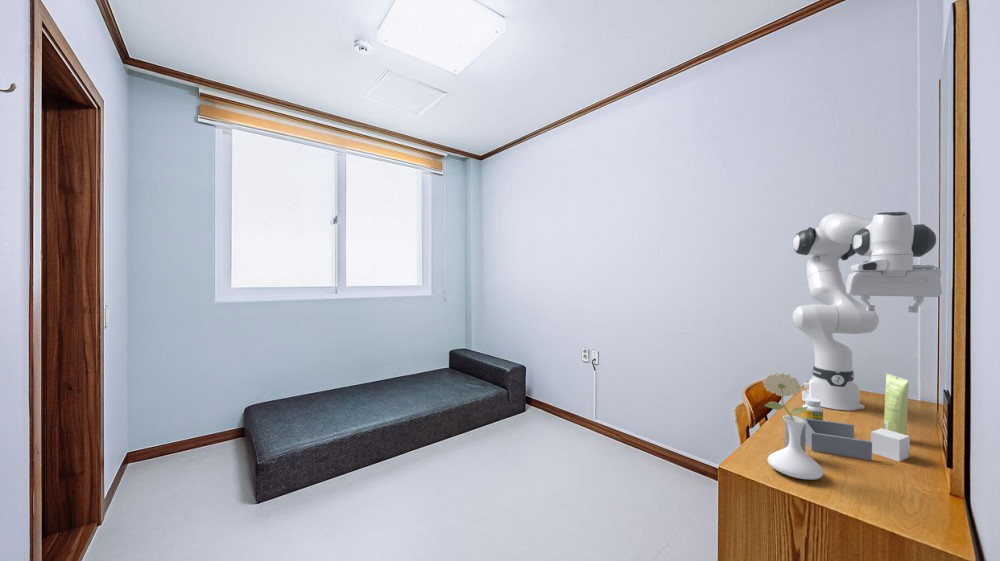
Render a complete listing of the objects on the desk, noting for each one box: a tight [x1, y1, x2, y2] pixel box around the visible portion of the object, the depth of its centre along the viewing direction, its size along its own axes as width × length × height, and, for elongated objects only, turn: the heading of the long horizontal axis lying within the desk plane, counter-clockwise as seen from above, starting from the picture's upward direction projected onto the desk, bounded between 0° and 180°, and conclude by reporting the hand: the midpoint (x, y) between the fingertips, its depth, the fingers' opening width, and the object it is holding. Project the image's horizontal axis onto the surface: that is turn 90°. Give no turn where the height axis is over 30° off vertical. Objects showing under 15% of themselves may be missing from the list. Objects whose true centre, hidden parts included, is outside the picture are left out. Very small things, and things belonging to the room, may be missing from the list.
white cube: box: [870, 427, 911, 462], centre depth 108 cm, size 6×6×6 cm
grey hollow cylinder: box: [784, 420, 806, 453], centre depth 107 cm, size 4×4×10 cm
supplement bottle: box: [801, 398, 824, 420], centre depth 126 cm, size 5×5×10 cm
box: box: [800, 416, 873, 461], centre depth 113 cm, size 14×13×5 cm
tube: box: [883, 373, 909, 435], centre depth 117 cm, size 6×5×20 cm
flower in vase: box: [762, 372, 824, 480], centre depth 98 cm, size 13×11×25 cm
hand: (891, 311), depth 114 cm, fingers open, 8 cm apart
